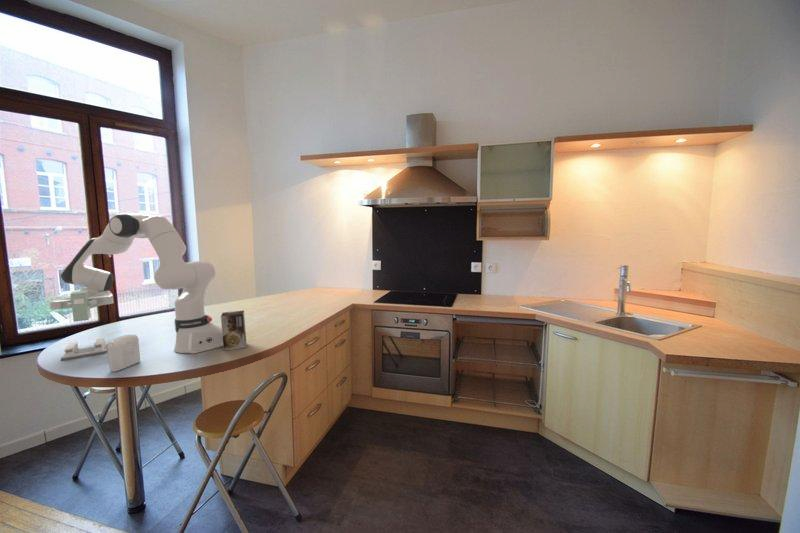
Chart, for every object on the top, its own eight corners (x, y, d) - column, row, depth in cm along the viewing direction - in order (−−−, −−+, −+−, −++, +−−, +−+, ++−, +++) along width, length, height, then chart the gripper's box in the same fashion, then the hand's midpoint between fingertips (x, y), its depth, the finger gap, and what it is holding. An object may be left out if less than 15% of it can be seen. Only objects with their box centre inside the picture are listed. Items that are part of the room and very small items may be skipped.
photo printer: (133, 360, 132) (130, 331, 131) (142, 361, 132) (139, 332, 130) (107, 371, 122) (103, 340, 121) (116, 372, 121) (113, 340, 120)
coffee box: (246, 343, 151) (244, 310, 150) (245, 348, 146) (243, 313, 144) (225, 346, 148) (222, 312, 146) (223, 351, 142) (220, 315, 140)
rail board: (109, 345, 150) (108, 336, 149) (106, 352, 141) (105, 343, 140) (67, 352, 141) (65, 343, 141) (61, 360, 133) (59, 350, 132)
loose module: (90, 316, 143) (87, 290, 142) (88, 320, 138) (85, 292, 137) (76, 318, 140) (73, 291, 139) (73, 321, 136) (70, 293, 134)
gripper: (53, 295, 142) (44, 301, 131) (114, 290, 154) (110, 294, 143) (55, 309, 143) (46, 316, 132) (115, 302, 155) (112, 308, 144)
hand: (80, 304), depth 138 cm, fingers closed on loose module, 4 cm apart
